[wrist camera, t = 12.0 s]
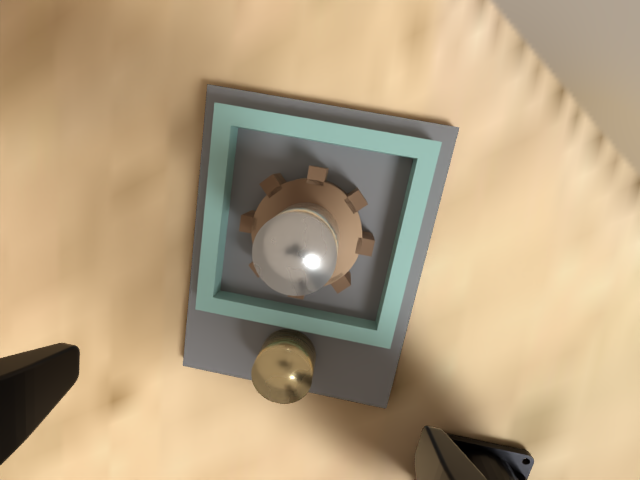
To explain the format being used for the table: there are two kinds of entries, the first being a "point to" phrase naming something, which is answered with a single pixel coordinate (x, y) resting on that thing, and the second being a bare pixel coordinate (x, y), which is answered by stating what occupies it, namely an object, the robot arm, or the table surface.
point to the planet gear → (306, 234)
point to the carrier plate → (324, 304)
